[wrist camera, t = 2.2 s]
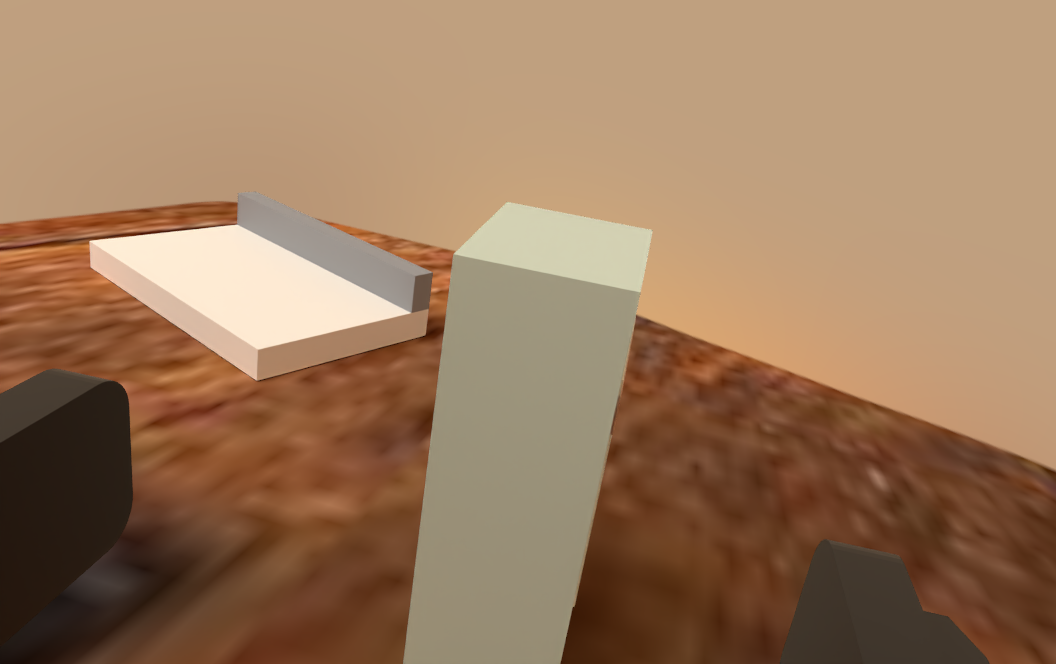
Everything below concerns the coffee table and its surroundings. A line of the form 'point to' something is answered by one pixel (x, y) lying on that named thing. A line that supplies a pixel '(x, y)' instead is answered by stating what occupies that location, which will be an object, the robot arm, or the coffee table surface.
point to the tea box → (521, 433)
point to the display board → (272, 287)
